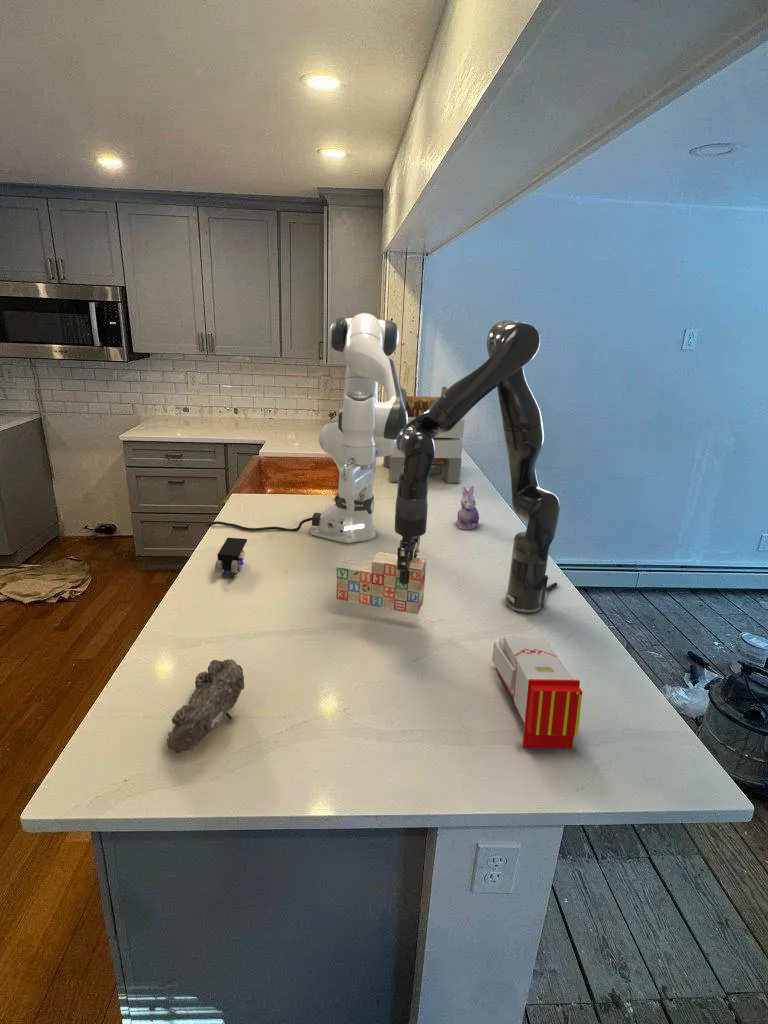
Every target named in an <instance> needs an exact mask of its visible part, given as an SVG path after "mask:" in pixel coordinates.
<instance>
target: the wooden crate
mask: <svg viewBox="0 0 768 1024" xmlns="http://www.w3.org/2000/svg"><path fill="white" fill-rule="evenodd" d="M447 389H448V388H447V386H442V387H441V392H440V393H441V394H440V396H441V395H442V394H443V393H444V392H445V391H446V390H447ZM400 390H401V395H402V399H403V403H404V406H405V410H406V412H407V416H408V423H409V422H411V421H412V420H413V419H415V418H416V417H417V416H419V415H420V414H422V413H423V412H425V411H426V410H428V409H429V408H430V406H431V405H432V404H433V403H434V402H435V401H436V400H437V399H438V398H439V397H440V396H415V395H414V396H413V395H412V396H411V395H407V394H408V393H407V390H406V389H404V388H403V387H402V385H400ZM464 429H465V419H464V418H462V419H461V420H460V421H459V422H458V423H457V424H456V425H455V426H454V427H453V428H452V429H451V430H450V431H449V432H447V433H440V434H438V435H436V436H435V437H434V438H433V441H434V445H435V456H434V460H433V464H432V467H436V468H437V470H438V469H439V473H440V474H441V475H443V478H444V479H445V481H446V482H447V483H449V484H455V483H456V484H459V483H461V472H462V461H463V460H462V453H463V442H464V441H463V440H462V439H463V438H464V431H465V430H464ZM404 464H405V456H404V455H402V454H401V453H400V452H399V451H398V449H397V447H396V449H395V450H394V452H393V453H392V454H391V455H389V456H383V466H384V467H388V468H389V475H388V476H389V477H388V478H389V480H390V482H391V483H398V476H399V473H400V472H401V471H402V470H403V469H404Z"/></svg>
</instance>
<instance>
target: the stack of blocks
mask: <svg viewBox="0 0 768 1024" xmlns="http://www.w3.org/2000/svg"><path fill="white" fill-rule="evenodd" d="M397 554H398V553H397ZM397 554H396V553H389V552H382V551H378V552H377V553H376V555H375V557H374V558H373V560H372V561H370V560H368V561H367V560H363V559H359V558H356V559H355V558H351V557H350V558H349V557H344V558H342V560H341V561H340V563H339V564H338V565H337V566H336V575H335V576H336V595H335V597H336V600H338V601H343V602H344V601H345V602H349V603H354V604H359V605H360V604H361V605H365V606H370V607H376V608H382V609H388V610H394V611H398V612H403V613H407V614H412V615H413V614H414V615H419V613H420V611H421V608H422V606H423V604H424V593H425V583H426V573H427V572H426V567H427V559H425V558H420V557H417V558H414V559H413V561H411V565H410V574H409V583H408V584H401V583H400V582H399V580H400V570H397ZM409 557H410V556H409ZM402 565H406V564H405V563H403V564H402Z"/></svg>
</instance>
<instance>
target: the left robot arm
mask: <svg viewBox="0 0 768 1024" xmlns="http://www.w3.org/2000/svg"><path fill="white" fill-rule="evenodd" d="M328 340H329V342H330V346H331V348H332V349H333V350H334V351H336V352H340V353H344V359H345V363H346V366H345V374H344V386H343V387H344V389H343V405H341V406H340V407H339V408H338V421H335V422H330V423H325V424H324V425H323V426H322V427H321V429H320V431H319V434H318V442H319V446H320V448H321V450H322V451H323V452H324V453H325V454H327V455H328V456H329V457H330V459H332V461H333V462H334V464H335V465H336V467H337V470H338V473H339V476H338V486H337V487H338V488H337V489H338V490H337V494H336V495H335V496H334V497H333V502H334V504H333V505H331V506H329V507H328V508H326V509H325V510H323V512H313V514H312V517H308V518H305V519H302V520H301V521H300V522H299V523H298V526H297V527H295V528H287V527H282V526H263V527H246V526H242V525H239V524H236V523H230V522H224V521H219V520H215V521H211V522H210V523H208V524H207V525H206V528H209V527H212V526H213V525H221V526H227V527H233V528H236V529H239V530H243V531H251V532H259V531H260V532H261V531H269V530H272V531H273V530H278V531H283V532H297V531H300V530H301V528H302V526H303V525H304V524H305V523H307V522H311V526H312V528H311V530H310V533H311V536H315V537H319V538H323V539H326V540H330V541H336V542H339V543H343V544H352V543H357V542H365V541H368V540H372V539H373V538H375V537H376V535H377V532H376V528H375V523H374V513H373V512H374V509H375V496H374V479H375V475H376V466H377V458H384V456H389V455H391V454H392V453H393V452H394V450H395V449H396V439H397V436H398V434H399V433H400V431H401V430H402V429H403V428H404V427H405V426H406V425H407V424H408V416H407V412H406V410H405V406H404V403H403V399H402V395H401V390H400V386H401V385H400V380H399V377H398V376H399V375H398V372H397V369H396V364H395V363H394V360H393V359H392V358H390V356H392V355H393V353H395V351H396V349H397V347H398V345H399V343H400V332H399V328H398V325H397V324H396V322H395V321H392V320H388V319H385V320H383V319H378V318H377V317H376V316H375V315H373V314H372V313H368V312H362V313H358V314H356V315H355V316H353V317H337V318H335V319H334V320H333V321H332V323H331V325H330V327H329V331H328ZM379 384H380V385H381V386H382V387H383V388H384V392H385V396H386V401H379V395H378V394H379V388H378V387H379Z"/></svg>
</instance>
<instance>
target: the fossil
mask: <svg viewBox="0 0 768 1024" xmlns="http://www.w3.org/2000/svg"><path fill="white" fill-rule="evenodd" d="M243 670H244V669H243V667H242V665H240V664H237V662H236V661H235V660H234V659H232V658H231V659H227V658H226V659H224V660H223V661H222V660H217V659H212V660H211V661H210V663H209V665H208V666H207V671H201V672H199V673H198V674H197V675H196V676H195V680H194V684H195V685H194V687H195V689H194V690H193V693H192V694H191V697H190V698H189V700H188V704H184V705H182V706H181V707H180V709H177V710H176V711H175V713H174V715H173V716H172V718H171V723H172V724H173V727H172V730H171V731H170V732H168V734H167V738H166V741H167V742H166V745H167V749H168V750H169V751H173V752H174V753H176V754H178V753H182V752H188V751H189V752H192V751H193V750H195V748H196V747H197V746H199V744H200V743H201V742H203V741H204V740H205V739H206V738H207V737H208V736H209V735H210V734H211V733H212V732H214V730H215V729H217V727H218V726H219V724H220V722H221V721H222V720H223V719H224V718H225V716H226V717H227V719H229V720H233V717H232V715H230V714H229V710H230V709H231V708H234V706H235V704H236V703H237V702H238V699H239V697H240V695H241V693H242V691H243V690H245V689H244V688H245V675H244V671H243Z"/></svg>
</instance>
